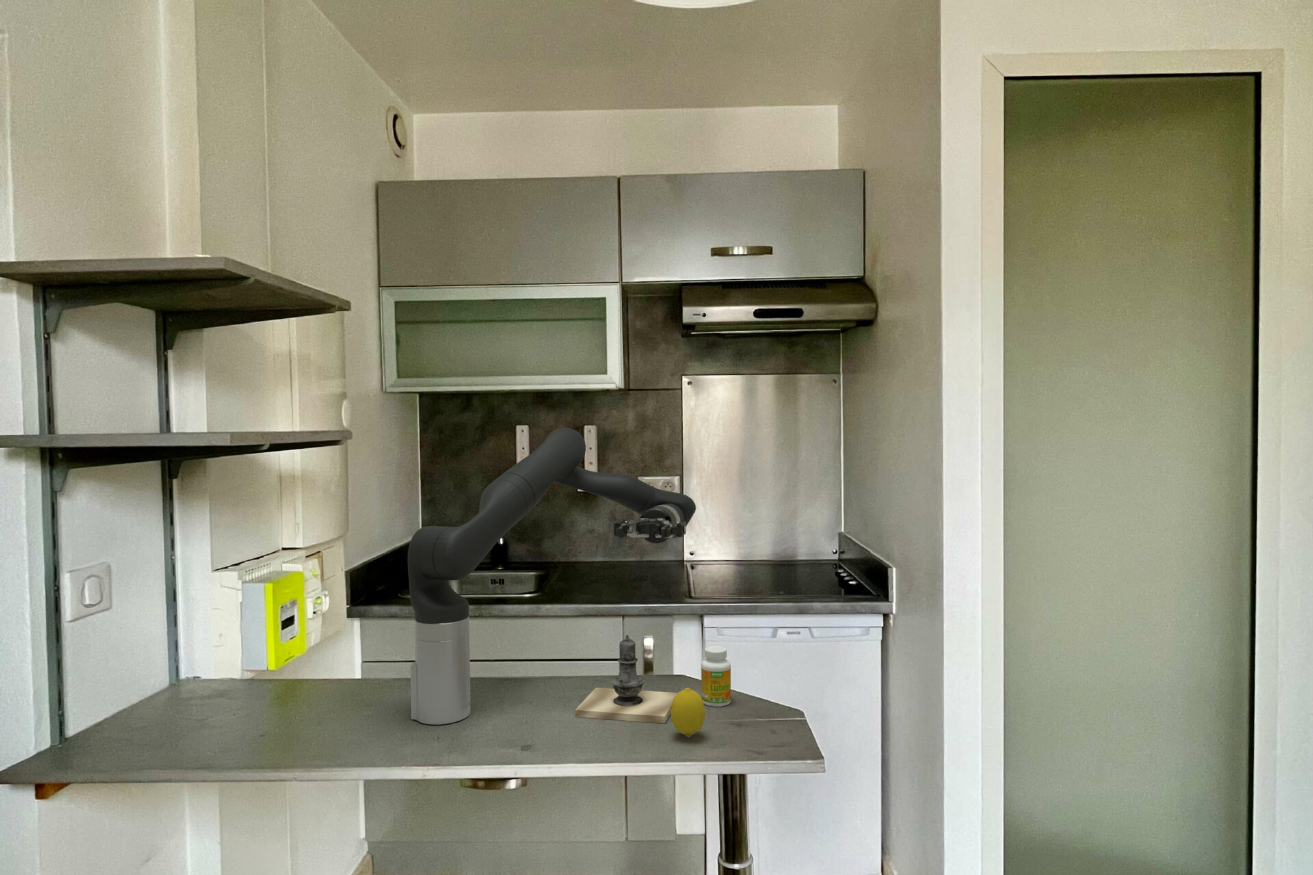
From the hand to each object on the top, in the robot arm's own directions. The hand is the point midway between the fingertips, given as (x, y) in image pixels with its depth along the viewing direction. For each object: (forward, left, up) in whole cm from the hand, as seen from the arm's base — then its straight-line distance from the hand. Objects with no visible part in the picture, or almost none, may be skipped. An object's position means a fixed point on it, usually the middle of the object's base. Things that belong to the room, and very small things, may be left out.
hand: (641, 533), depth 148 cm
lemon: (+13, -22, -30) cm, 40 cm away
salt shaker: (0, -11, -29) cm, 31 cm away
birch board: (0, -11, -30) cm, 32 cm away
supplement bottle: (+15, -5, -30) cm, 34 cm away
